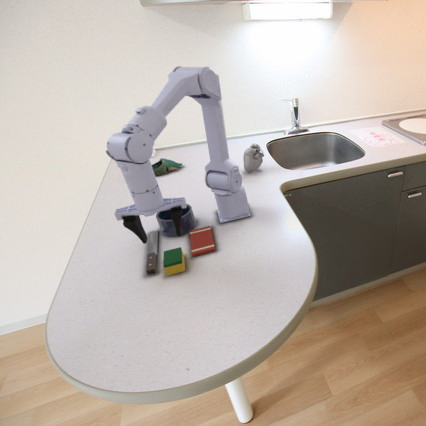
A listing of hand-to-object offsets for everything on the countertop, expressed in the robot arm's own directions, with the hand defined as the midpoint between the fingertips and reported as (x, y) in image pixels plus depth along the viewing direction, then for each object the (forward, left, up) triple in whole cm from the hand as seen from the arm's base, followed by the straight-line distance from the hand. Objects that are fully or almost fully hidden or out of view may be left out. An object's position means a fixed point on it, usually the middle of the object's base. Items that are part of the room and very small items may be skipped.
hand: (162, 237), depth 75 cm
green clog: (+5, -67, -10) cm, 68 cm away
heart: (-32, -50, -10) cm, 60 cm away
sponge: (-1, 0, -9) cm, 9 cm away
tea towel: (-8, -8, -9) cm, 15 cm away
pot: (-2, -19, -9) cm, 21 cm away
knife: (+5, -10, -9) cm, 15 cm away
